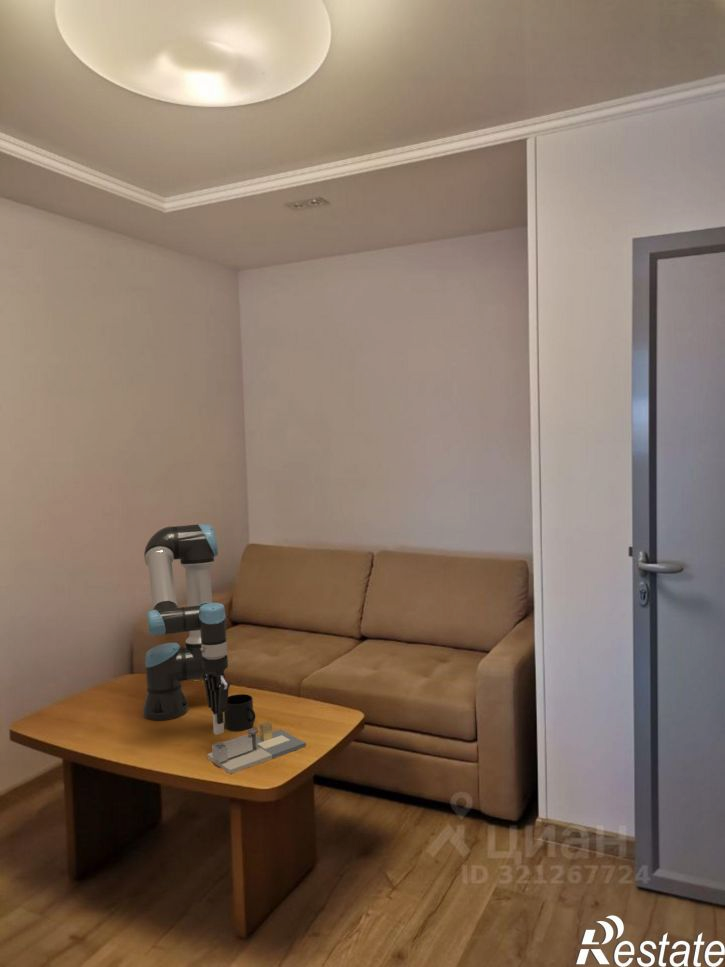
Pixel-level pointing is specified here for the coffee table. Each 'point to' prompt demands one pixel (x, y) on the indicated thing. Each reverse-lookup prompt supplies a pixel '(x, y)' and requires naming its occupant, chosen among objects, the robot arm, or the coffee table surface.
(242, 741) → the bar
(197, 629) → the robot arm
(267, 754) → the door board
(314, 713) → the coffee table surface
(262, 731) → the block
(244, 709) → the mug
